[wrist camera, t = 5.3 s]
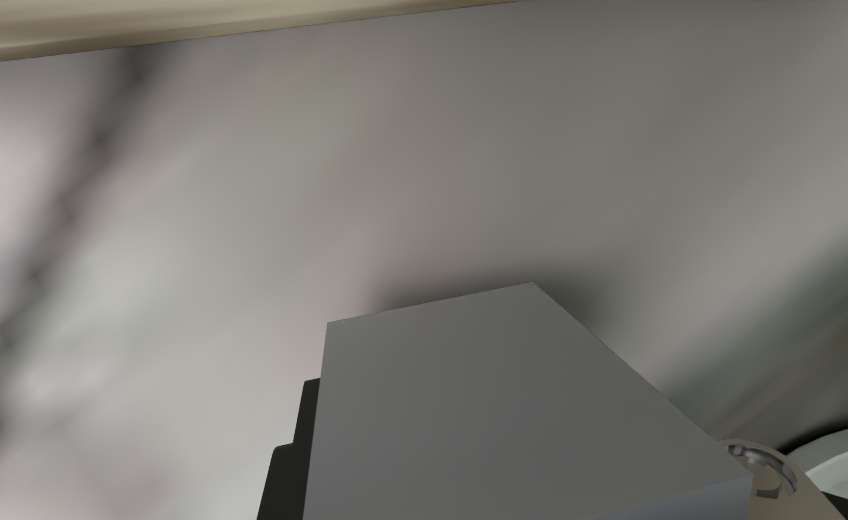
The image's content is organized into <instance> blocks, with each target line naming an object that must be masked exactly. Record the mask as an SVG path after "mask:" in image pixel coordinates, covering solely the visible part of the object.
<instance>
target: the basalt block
mask: <svg viewBox="0 0 848 520" xmlns="http://www.w3.org/2000/svg"><path fill="white" fill-rule="evenodd" d="M752 480H753V474H752V473H751V472H750V471H748V470H747V469H746V468H745V467H744V466H743V465H742V464H740V463H739V462H738V461H737V460H736V459H735V458H734V457H732V456H731V455H730V454H729V453H728V452H727V451H726V450H724V449H723V448H722V447H721V446H720V445H719V444H718V443H717V442H715V441H714V440H713V439H712V438H711V437H710V436H709V435H707V434H706V433H705V432H704V431H703V430H702V429H701V428H699V427H698V426H697V425H696V424H695V423H694V422H693V421H691V420H690V419H689V418H688V417H687V416H686V415H685V414H683V413H682V412H681V411H680V410H679V409H678V408H677V407H675V406H674V405H673V404H672V403H671V402H670V401H669V400H667V399H666V398H665V397H664V396H663V395H662V394H661V393H659V392H658V391H657V390H656V389H655V388H654V387H653V386H651V385H650V384H649V383H648V382H647V381H646V380H645V379H643V378H642V377H641V376H640V375H639V374H638V373H637V372H635V371H634V370H633V369H632V368H631V367H630V366H629V365H628V364H626V363H625V362H624V361H623V360H622V359H621V358H620V357H618V356H617V355H616V354H615V353H614V352H613V351H612V350H610V349H609V348H608V347H607V346H606V345H605V344H604V343H602V342H601V341H600V340H599V339H598V338H597V337H596V336H594V335H593V334H592V333H591V332H590V331H589V330H588V329H586V328H585V327H584V326H583V325H582V324H581V323H580V322H578V321H577V320H576V319H575V318H574V317H573V316H572V315H570V314H569V313H568V312H567V311H566V310H565V309H564V308H562V307H561V306H560V305H559V304H558V303H557V302H556V301H554V300H553V299H552V298H551V297H550V296H549V295H548V294H546V293H545V292H544V291H543V290H542V289H541V288H540V287H539V286H537V285H536V284H535V283H534V282H528V283H523V284H518V285H513V286H508V287H503V288H498V289H493V290H488V291H483V292H478V293H473V294H468V295H463V296H458V297H453V298H448V299H443V300H438V301H433V302H428V303H423V304H418V305H413V306H408V307H403V308H398V309H393V310H388V311H383V312H378V313H373V314H368V315H363V316H358V317H353V318H348V319H343V320H338V321H333V322H328V323H327V330H326V338H325V346H324V354H323V362H322V370H321V378H320V386H319V394H318V402H317V410H316V418H315V426H314V434H313V442H312V450H311V458H310V466H309V474H308V482H307V490H306V498H305V506H304V514H303V520H747V513H748V507H749V500H750V493H751V487H752Z"/></svg>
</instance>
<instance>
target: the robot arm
mask: <svg viewBox="0 0 848 520" xmlns="http://www.w3.org/2000/svg"><path fill="white" fill-rule="evenodd" d="M319 386H320V378H317V379H312V380H308V381H305V382H304V386H303V391H302V397H301V402H300V407H299V413H298V418H297V423H296V429H295V434H294V440H293V443H290V444H286V445H282V446H277V447H276V448H275V449H274V451H273V454H272V458H271V462H270V466H269V470H268V474H267V479H266V483H265V487H264V491H263V495H262V499H261V503H260V507H259V512H258V516H257V520H303V514H304V506H305V498H306V490H307V482H308V474H309V466H310V458H311V450H312V442H313V434H314V426H315V418H316V410H317V402H318V394H319ZM715 442H717V443H718V444H719V445H720V446H721V447H722V448H723V449H724V450H726V451H727V452H728V453H729V454H730V455H731V456H732V457H734V458H735V459H736V460H737V461H738V462H739V463H740V464H742V465H743V466H744V467H745V468H746V469H747V470H748V471H750V472H751V473H752V474H753V480H752V487H751V493H750V500H749V507H748V513H747V520H848V429H846V430H842V431H839V432H836V433H832V434H829V435H826V436H823V437H820V438H818V439H816V440H814V441H812V442H810V443H807V444H805V445H803V446H801V447H799V448H797V449H795V450H794V451H792V452H790V453H789V454H787V455H785V456H784V455H783V454H781V453H780V452H778V451H776V450H774V449H772V448H770V447H767V446H765V445H762V444H760V443H756V442H752V441H748V440H744V439H732V438H729V439H722V440H717V441H715Z"/></svg>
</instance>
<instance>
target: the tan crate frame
mask: <svg viewBox="0 0 848 520" xmlns="http://www.w3.org/2000/svg"><path fill="white" fill-rule="evenodd" d="M514 1H522V0H0V61H8V60H16V59H25V58H33V57H42V56H50V55H59V54H68V53H76V52H85V51H93V50H102V49H110V48H119V47H128V46H136V45H145V44H153V43H162V42H171V41H179V40H188V39H196V38H205V37H213V36H222V35H231V34H239V33H248V32H256V31H265V30H273V29H282V28H291V27H299V26H308V25H316V24H325V23H333V22H342V21H351V20H359V19H368V18H376V17H385V16H394V15H402V14H411V13H419V12H428V11H436V10H445V9H454V8H462V7H471V6H479V5H488V4H496V3H505V2H514Z"/></svg>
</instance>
